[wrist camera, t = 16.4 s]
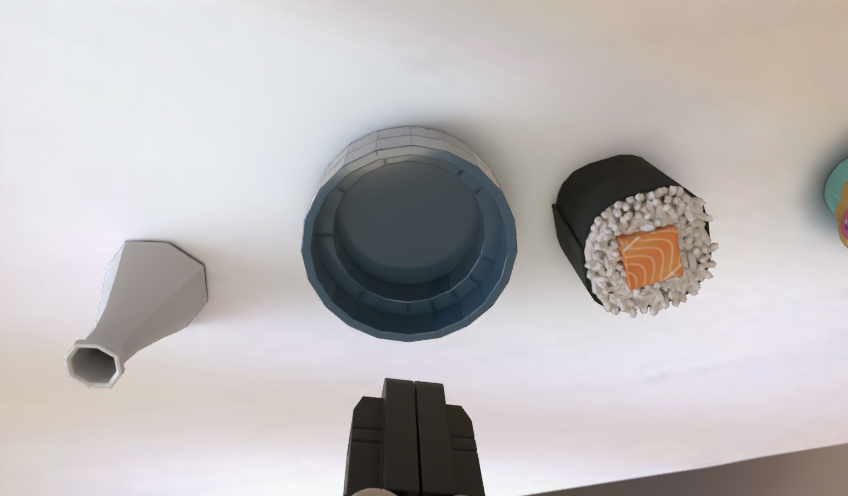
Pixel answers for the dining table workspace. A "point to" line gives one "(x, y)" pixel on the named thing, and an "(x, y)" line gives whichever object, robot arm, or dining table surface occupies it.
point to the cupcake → (839, 198)
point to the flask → (137, 309)
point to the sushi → (633, 235)
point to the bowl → (408, 235)
